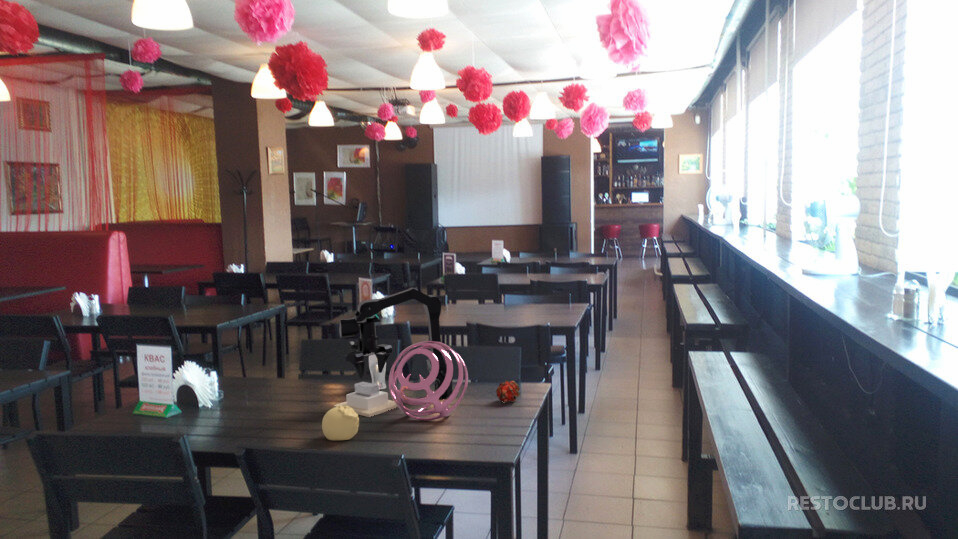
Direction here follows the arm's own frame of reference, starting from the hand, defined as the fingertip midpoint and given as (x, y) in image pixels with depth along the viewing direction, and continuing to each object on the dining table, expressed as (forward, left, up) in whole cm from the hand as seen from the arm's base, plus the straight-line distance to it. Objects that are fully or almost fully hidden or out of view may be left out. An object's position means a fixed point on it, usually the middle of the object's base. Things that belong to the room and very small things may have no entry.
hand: (371, 375), depth 261 cm
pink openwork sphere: (-28, -1, -12) cm, 30 cm away
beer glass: (+17, -19, -12) cm, 28 cm away
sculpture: (-19, +30, -12) cm, 38 cm away
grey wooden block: (0, +2, -10) cm, 11 cm away
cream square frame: (0, +2, -12) cm, 12 cm away
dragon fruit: (-41, -31, -12) cm, 52 cm away
